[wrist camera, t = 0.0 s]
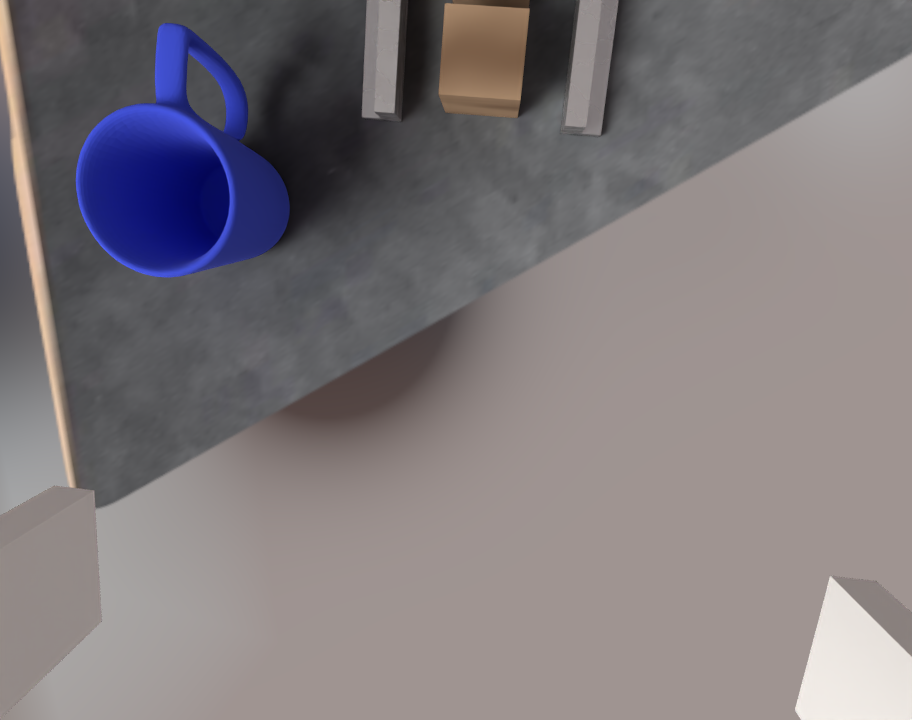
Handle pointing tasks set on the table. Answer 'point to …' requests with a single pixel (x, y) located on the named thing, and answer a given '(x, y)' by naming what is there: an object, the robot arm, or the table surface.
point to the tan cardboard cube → (495, 3)
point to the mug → (179, 175)
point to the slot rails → (582, 77)
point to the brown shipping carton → (483, 59)
